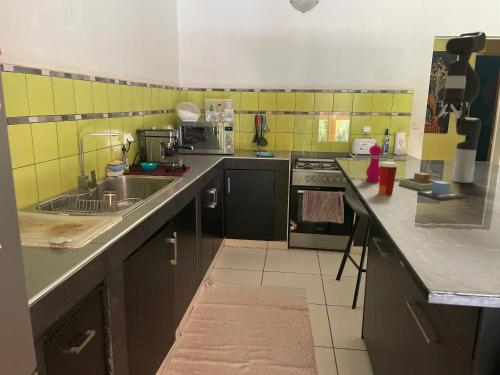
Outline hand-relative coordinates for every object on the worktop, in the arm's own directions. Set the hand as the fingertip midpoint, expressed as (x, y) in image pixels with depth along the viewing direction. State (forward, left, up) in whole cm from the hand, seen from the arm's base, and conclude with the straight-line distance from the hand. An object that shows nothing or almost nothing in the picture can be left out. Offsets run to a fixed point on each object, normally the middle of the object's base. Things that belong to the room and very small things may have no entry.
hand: (449, 127), depth 165 cm
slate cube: (0, 0, -29) cm, 29 cm away
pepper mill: (+8, -34, -30) cm, 47 cm away
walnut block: (-6, -16, -30) cm, 34 cm away
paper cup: (+22, -10, -30) cm, 39 cm away
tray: (-6, -16, -30) cm, 35 cm away
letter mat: (0, 0, -30) cm, 30 cm away
